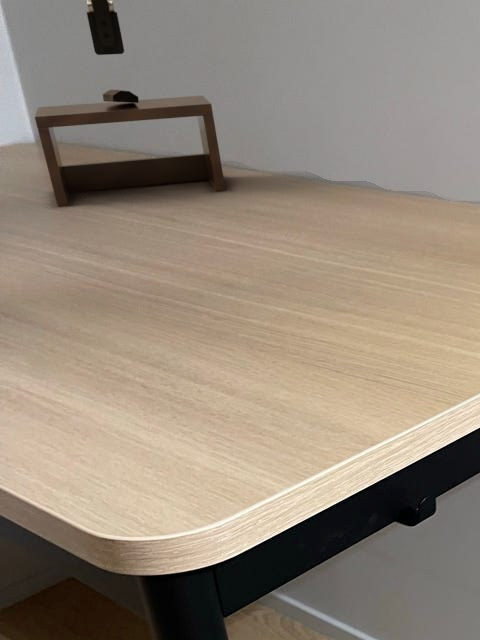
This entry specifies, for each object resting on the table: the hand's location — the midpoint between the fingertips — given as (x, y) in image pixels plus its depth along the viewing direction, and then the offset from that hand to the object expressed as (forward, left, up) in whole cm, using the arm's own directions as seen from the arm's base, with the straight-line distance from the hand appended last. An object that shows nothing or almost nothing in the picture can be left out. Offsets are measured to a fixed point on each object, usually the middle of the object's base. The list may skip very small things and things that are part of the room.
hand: (109, 52), depth 116 cm
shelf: (0, 0, -15) cm, 15 cm away
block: (0, 0, -6) cm, 6 cm away
